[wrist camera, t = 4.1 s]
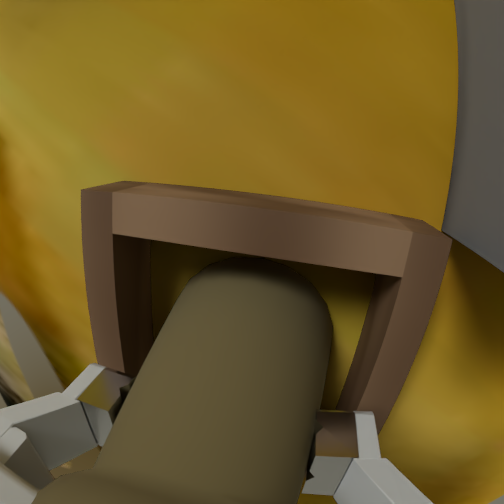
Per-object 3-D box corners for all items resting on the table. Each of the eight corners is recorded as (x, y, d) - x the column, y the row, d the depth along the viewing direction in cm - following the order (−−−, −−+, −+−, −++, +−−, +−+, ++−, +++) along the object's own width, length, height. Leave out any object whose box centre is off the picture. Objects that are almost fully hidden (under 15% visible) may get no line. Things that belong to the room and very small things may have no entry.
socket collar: (137, 398, 14) (114, 431, 12) (123, 181, 11) (81, 189, 8) (348, 440, 13) (350, 481, 10) (422, 220, 9) (452, 239, 7)
